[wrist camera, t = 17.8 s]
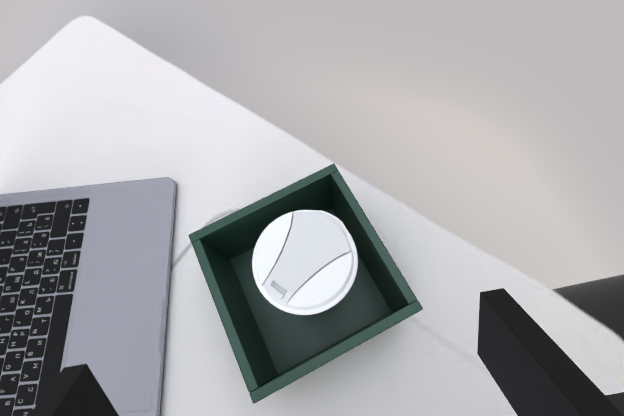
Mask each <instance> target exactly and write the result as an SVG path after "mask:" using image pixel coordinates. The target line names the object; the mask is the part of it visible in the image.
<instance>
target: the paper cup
mask: <svg viewBox="0 0 624 416" xmlns="http://www.w3.org/2000/svg"><path fill="white" fill-rule="evenodd" d="M357 267H358V257H357V250H356V246H355V243H354V241H353V239H352V237H351V235H350V233H349V232H348V230H347V229H346V227H345V226H344V224H343V222H342V221H340V220H339V219H338V218H337V217H335V216H333V215H332V214H330V213H327V212H325V211H322V210H298V211H293V212H289V213H287V214H285V215H282V216H280V217H279V218H277V219H275V220H274V221H273V222H272V223H270V224H269V225H268V226H267V227H266V228H265V230H264V231H263V232H262V234H261V235H260V237H259V239H258V241H257V243H256V245H255V248H254V252H253V258H252V269H253V275H254V279H255V282H256V284H257V286H258V288H259V290H260V292H261V293H262V294H263V296H264V297H265V298H266V299H267V300H268V301H269V302H270V303H271V304H272V305H274V306H275V307H277V308H278V309H281V310H283V311H285V312H288V313H292V314H297V315H312V314H316V313H320V312H323V311H325V310H328V309H330V308H331V307H333V306H334V305H336V304H337V303H338V302H339V301H340V300H342V299H343V298H344V296H345V295H346V294H347V293H348V291H349V290H350V288H351V286H352V284H353V282H354V279H355V277H356V272H357Z"/></svg>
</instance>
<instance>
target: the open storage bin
mask: <svg viewBox="0 0 624 416" xmlns="http://www.w3.org/2000/svg"><path fill="white" fill-rule="evenodd" d="M298 210H322V211H325V212H327V213H330V214H332V215H333V216H335V217H337V218H338V219H339V220H340V221H342V222H343V224H344V226H345V227H346V229H347V230H348V232H349V233H350V235H351V237H352V239H353V241H354V243H355V246H356V250H357V257H358V267H357V272H356V277H355V279H354V282H353V284H352V286H351V288H350V290H349V291H348V293H347V294H346V295H345V296H344V298H343V299H342V300H340V301H339V302H338V303H337V304H336V305H334V306H333V307H331V308H330V309H328V310H325V311H323V312H320V313H316V314H312V315H297V314H292V313H288V312H285V311H283V310H281V309H278V308H277V307H275V306H274V305H272V304H271V303H270V302H269V301H268V300H267V299H266V298H265V297H264V296H263V294H262V293H261V292H260V290H259V288H258V286H257V284H256V282H255V279H254V275H253V269H252V258H253V252H254V248H255V245H256V243H257V241H258V239H259V237H260V235H261V234H262V232H263V231H264V230H265V228H266V227H267V226H268V225H269V224H270V223H272V222H273V221H274V220H275V219H277V218H279V217H280V216H282V215H285V214H287V213H289V212H293V211H298ZM189 238H190V240H191V243H192V245H193V248H194V250H195V253H196V256H197V258H198V261H199V263H200V266H201V269H202V271H203V274H204V277H205V279H206V282H207V284H208V287H209V290H210V292H211V295H212V297H213V300H214V303H215V305H216V308H217V310H218V313H219V316H220V318H221V321H222V323H223V326H224V329H225V331H226V334H227V336H228V339H229V342H230V344H231V347H232V349H233V352H234V355H235V357H236V360H237V362H238V365H239V368H240V370H241V373H242V375H243V378H244V381H245V383H246V386H247V388H248V391H249V392H250V396H251V399H252V401H253V403H256V402H258V401H260V400H262V399H263V398H265V397H267V396H269V395H270V394H272V393H274V392H276V391H278V390H279V389H281V388H283V387H285V386H287V385H288V384H290V383H292V382H294V381H296V380H297V379H299V378H301V377H303V376H304V375H306V374H308V373H310V372H312V371H313V370H315V369H317V368H319V367H321V366H322V365H324V364H326V363H328V362H329V361H331V360H333V359H335V358H337V357H338V356H340V355H342V354H344V353H346V352H347V351H349V350H351V349H353V348H355V347H356V346H358V345H360V344H362V343H363V342H365V341H367V340H369V339H371V338H372V337H374V336H376V335H378V334H380V333H381V332H383V331H385V330H387V329H389V328H390V327H392V326H394V325H396V324H397V323H399V322H401V321H403V320H405V319H406V318H408V317H410V316H412V315H414V314H415V313H417V312H419V311H421V310H422V309H423V308H422V306H421V305H420V303H419V302H418V300H417V298H416V297H415V295H414V293H413V292H412V290H411V288H410V287H409V285H408V284H407V282H406V280H405V279H404V277H403V275H402V274H401V272H400V270H399V269H398V267H397V266H396V264H395V262H394V261H393V259H392V257H391V256H390V254H389V253H388V251H387V249H386V248H385V246H384V244H383V243H382V241H381V239H380V238H379V236H378V235H377V233H376V231H375V230H374V228H373V226H372V225H371V223H370V222H369V220H368V218H367V217H366V215H365V213H364V212H363V210H362V208H361V207H360V205H359V204H358V202H357V200H356V199H355V197H354V195H353V194H352V192H351V191H350V189H349V187H348V186H347V184H346V182H345V181H344V179H343V177H342V176H341V174H340V173H339V171H338V169H337V167H336V166H335V164H332V165H330V166H328V167H326V168H324V169H322V170H320V171H318V172H316V173H314V174H312V175H310V176H308V177H306V178H304V179H302V180H300V181H297V182H295V183H293V184H291V185H289V186H287V187H285V188H283V189H281V190H279V191H277V192H275V193H273V194H271V195H269V196H267V197H265V198H263V199H261V200H259V201H257V202H255V203H253V204H251V205H249V206H247V207H245V208H243V209H240V210H238V211H236V212H234V213H232V214H230V215H228V216H226V217H224V218H222V219H220V220H218V221H216V222H214V223H212V224H210V225H208V226H206V227H204V228H202V229H200V230H198V231H196V232H194V233H192V234H190V235H189Z"/></svg>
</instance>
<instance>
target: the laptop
mask: <svg viewBox="0 0 624 416" xmlns="http://www.w3.org/2000/svg"><path fill="white" fill-rule="evenodd" d="M175 197H176V183H175V182H174V181H173V180H172V179H171V178H169V177H164V178H154V179H145V180H135V181H126V182H116V183H106V184H97V185H87V186H78V187H68V188H58V189H49V190H39V191H30V192H20V193H10V194H1V195H0V416H29V414H30V413H31V412H32V410H33V409H34V408H35V406H36V405H37V404H38V402H39V401H40V399H41V398H42V397H43V395H44V394H45V393H46V391H47V390H48V388H49V387H50V386H51V384H52V383H53V382H54V380H55V379H56V378H57V376H58V375H59V373H60V372H61V371H62V369H63V368H64V367H70V366H75V365H81V364H87V365H88V367H89V368H90V370H91V372H92V373H93V375H94V376H95V378H96V380H97V381H98V383H99V384H100V386H101V388H102V389H103V391H104V392H105V394H106V396H107V397H108V399H109V400H110V402H111V404H112V405H113V407H114V409H115V410H116V412H117V413H118V415H119V416H160V402H161V389H162V375H163V361H164V348H165V334H166V320H167V307H168V293H169V279H170V266H171V252H172V238H173V225H174V211H175Z"/></svg>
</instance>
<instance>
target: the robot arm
mask: <svg viewBox="0 0 624 416" xmlns="http://www.w3.org/2000/svg"><path fill="white" fill-rule="evenodd" d="M478 355H479V357H480V358H481V360H482V361H483V363H484V364H485V366H486V367H487V369H488V371H489V372H490V374H491V375H492V377H493V378H494V380H495V381H496V383H497V384H498V386H499V387H500V389H501V391H502V392H503V394H504V395H505V397H506V398H507V400H508V401H509V403H510V404H511V406H512V408H513V409H514V411H515V412H516V414H517V415H518V416H624V392H622V393H617V394H611V395H604V394H603V393H602V392H601V391H600V390H599V389H598V388H597V386H596V385H595V384H594V383H593V382H592V381H591V380H590V379H589V378H588V377H587V376H586V375H585V374H584V373H583V372H582V371H581V370H580V369H579V367H578V366H577V365H576V364H575V363H574V362H573V361H572V360H571V359H570V358H569V357H568V356H567V355H566V354H565V353H564V352H563V351H562V350H561V348H560V347H559V346H558V345H557V344H556V343H555V342H554V341H553V340H552V339H551V338H550V337H549V336H548V335H547V334H546V333H545V332H544V331H543V329H542V328H541V327H540V326H539V325H538V324H537V323H536V322H535V321H534V320H533V319H532V318H531V317H530V316H529V315H528V314H527V313H526V312H525V310H524V309H523V308H522V307H521V306H520V305H519V304H518V303H517V302H516V301H515V300H514V299H513V298H512V297H511V296H510V295H509V294H508V293H507V291H506V290H505V289H504V288H502V289H497V290H491V291H486V292H480V309H479V331H478ZM29 416H119V415H118V413H117V412H116V410H115V409H114V407H113V405H112V404H111V402H110V400H109V399H108V397H107V396H106V394H105V392H104V391H103V389H102V388H101V386H100V384H99V383H98V381H97V380H96V378H95V376H94V375H93V373H92V372H91V370H90V368H89V367H88V365H87V364H81V365H75V366H70V367H64V368H63V369H62V371H61V372H60V373H59V375H58V376H57V378H56V379H55V380H54V382H53V383H52V384H51V386H50V387H49V388H48V390H47V391H46V393H45V394H44V395H43V397H42V398H41V399H40V401H39V402H38V404H37V405H36V406H35V408H34V409H33V410H32V412H31V413H30V414H29Z"/></svg>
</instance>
